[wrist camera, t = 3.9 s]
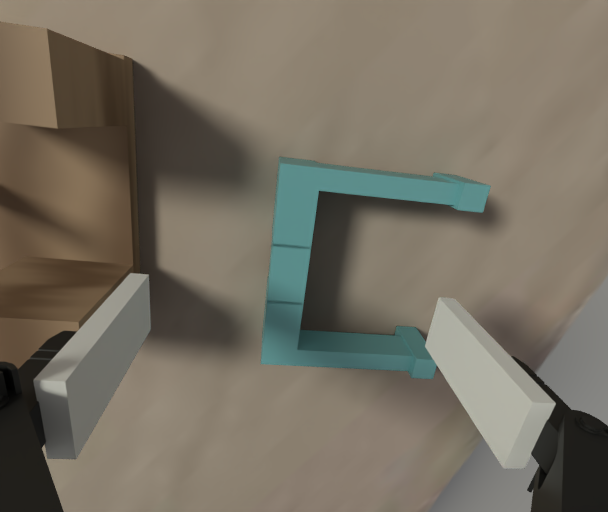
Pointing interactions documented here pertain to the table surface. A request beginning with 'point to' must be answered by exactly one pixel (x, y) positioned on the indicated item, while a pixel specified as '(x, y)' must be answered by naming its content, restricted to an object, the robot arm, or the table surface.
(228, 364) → the table surface
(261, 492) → the table surface
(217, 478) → the table surface
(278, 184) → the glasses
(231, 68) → the table surface
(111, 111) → the stand
